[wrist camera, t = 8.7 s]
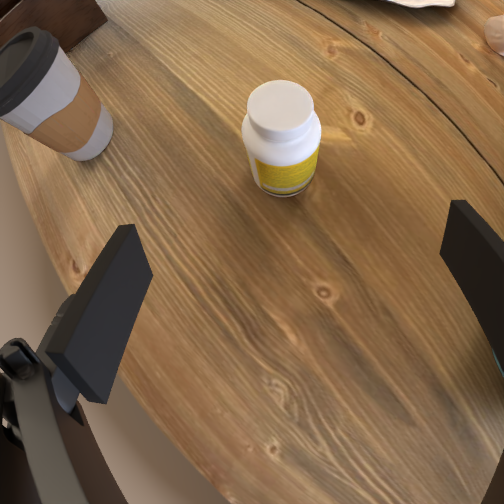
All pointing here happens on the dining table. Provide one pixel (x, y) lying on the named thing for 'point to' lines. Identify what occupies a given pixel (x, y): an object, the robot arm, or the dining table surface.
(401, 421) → the dining table surface
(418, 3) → the plate
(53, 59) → the coffee cup
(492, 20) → the garlic bulb
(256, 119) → the supplement bottle
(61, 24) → the chest
